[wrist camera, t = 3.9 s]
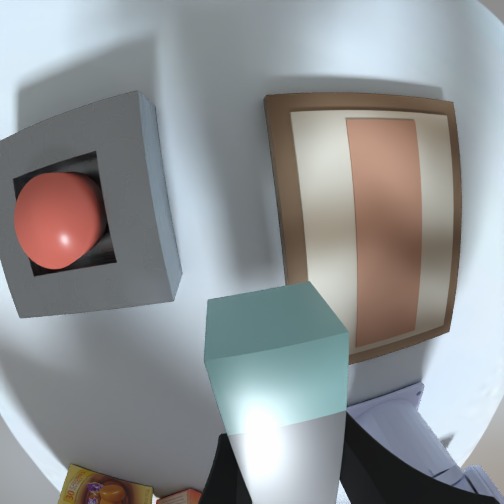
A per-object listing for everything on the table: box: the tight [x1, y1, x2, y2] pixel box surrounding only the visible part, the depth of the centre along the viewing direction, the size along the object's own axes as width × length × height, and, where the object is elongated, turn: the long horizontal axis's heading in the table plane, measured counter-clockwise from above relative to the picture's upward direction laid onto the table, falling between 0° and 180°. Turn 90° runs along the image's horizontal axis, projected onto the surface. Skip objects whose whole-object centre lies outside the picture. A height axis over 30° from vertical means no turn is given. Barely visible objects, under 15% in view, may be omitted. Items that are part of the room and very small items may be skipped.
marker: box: [204, 281, 349, 504], centre depth 9 cm, size 12×3×3 cm, turn 8°
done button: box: [14, 171, 107, 269], centre depth 11 cm, size 4×4×2 cm
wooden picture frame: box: [263, 93, 462, 365], centre depth 16 cm, size 16×12×1 cm
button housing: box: [0, 91, 182, 318], centre depth 13 cm, size 9×9×4 cm
